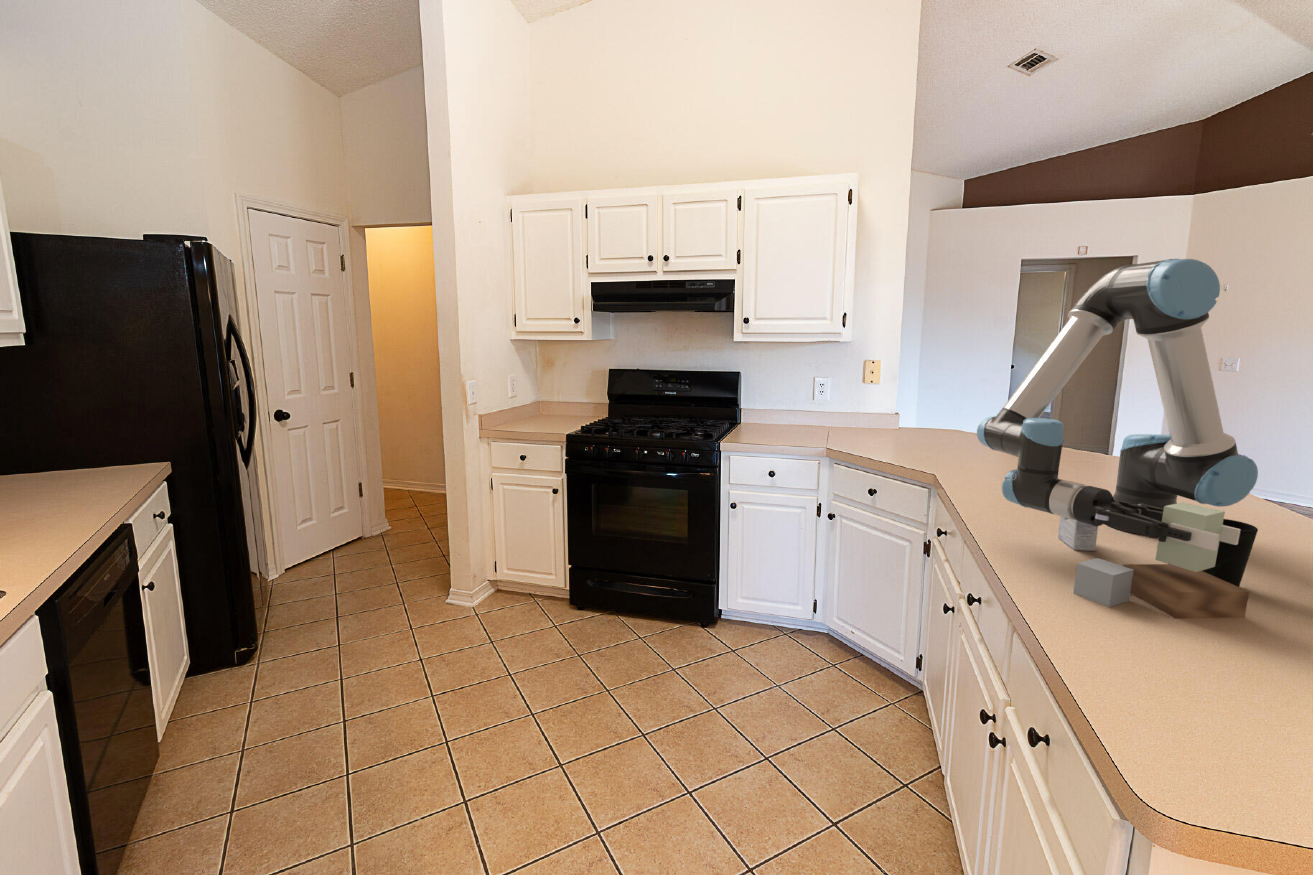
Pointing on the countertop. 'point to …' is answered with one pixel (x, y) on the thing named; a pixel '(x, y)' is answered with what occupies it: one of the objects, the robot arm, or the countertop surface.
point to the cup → (1234, 554)
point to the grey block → (1103, 582)
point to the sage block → (1184, 552)
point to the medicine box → (1078, 534)
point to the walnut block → (1187, 592)
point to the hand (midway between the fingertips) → (1227, 539)
